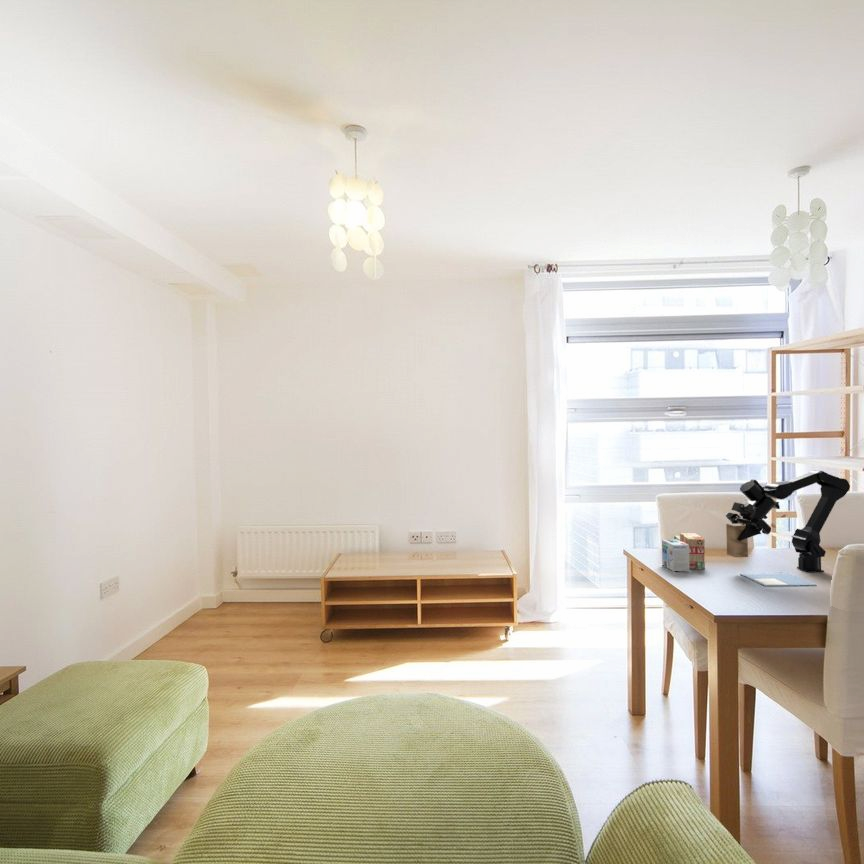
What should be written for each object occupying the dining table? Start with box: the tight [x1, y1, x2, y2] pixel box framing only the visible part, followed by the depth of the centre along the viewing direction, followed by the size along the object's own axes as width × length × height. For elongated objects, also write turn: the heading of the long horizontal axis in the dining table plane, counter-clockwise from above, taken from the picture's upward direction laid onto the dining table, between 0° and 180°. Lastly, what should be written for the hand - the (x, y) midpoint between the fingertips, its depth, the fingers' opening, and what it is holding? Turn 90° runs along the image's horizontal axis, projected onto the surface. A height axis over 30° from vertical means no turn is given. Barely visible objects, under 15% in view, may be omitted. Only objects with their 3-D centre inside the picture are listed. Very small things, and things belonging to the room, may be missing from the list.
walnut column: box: [726, 523, 749, 558], centre depth 196 cm, size 5×5×12 cm
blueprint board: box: [739, 572, 817, 587], centre depth 187 cm, size 18×15×1 cm
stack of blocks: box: [673, 532, 706, 570], centre depth 214 cm, size 21×6×12 cm, turn 168°
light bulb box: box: [661, 538, 690, 573], centre depth 205 cm, size 11×7×11 cm, turn 178°
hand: (733, 538), depth 196 cm, fingers closed on walnut column, 5 cm apart
